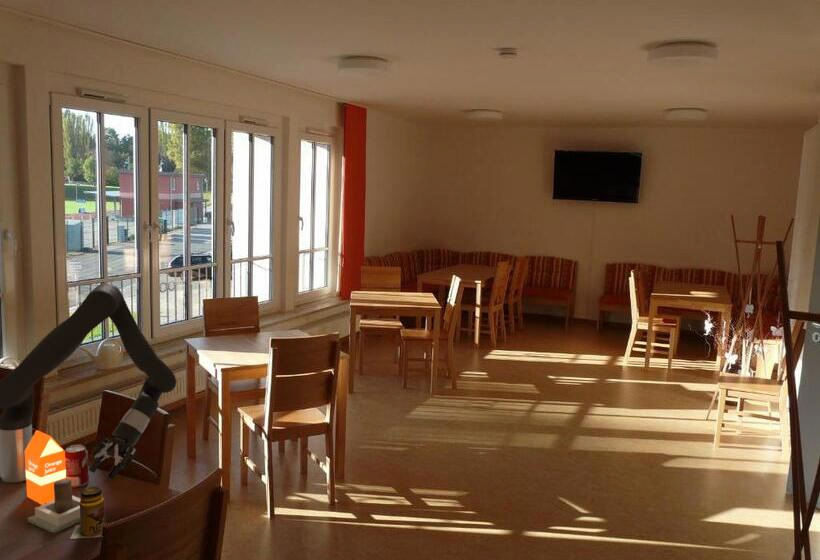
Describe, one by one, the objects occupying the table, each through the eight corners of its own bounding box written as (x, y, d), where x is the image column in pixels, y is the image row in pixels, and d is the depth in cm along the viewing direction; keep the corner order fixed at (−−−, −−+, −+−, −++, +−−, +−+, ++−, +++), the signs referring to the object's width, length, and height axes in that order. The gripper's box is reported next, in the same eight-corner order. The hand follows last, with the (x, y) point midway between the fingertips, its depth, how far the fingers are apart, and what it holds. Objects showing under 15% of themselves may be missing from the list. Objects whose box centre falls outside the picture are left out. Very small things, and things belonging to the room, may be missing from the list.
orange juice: (52, 487, 218) (49, 426, 215) (67, 496, 213) (64, 432, 210) (26, 496, 212) (22, 433, 209) (41, 505, 207) (38, 440, 204)
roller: (51, 514, 200) (50, 483, 198) (66, 508, 203) (65, 477, 202) (61, 519, 197) (60, 487, 196) (76, 512, 201) (74, 481, 200)
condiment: (103, 536, 190) (101, 495, 189) (69, 539, 189) (67, 497, 187) (108, 523, 198) (107, 483, 196) (76, 526, 196) (74, 485, 194)
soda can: (79, 490, 217) (77, 453, 215) (60, 487, 219) (58, 451, 217) (93, 481, 224) (92, 445, 222) (74, 478, 225) (73, 443, 223)
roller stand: (27, 521, 197) (27, 509, 197) (73, 502, 209) (72, 491, 209) (53, 533, 191) (52, 521, 191) (99, 513, 203) (98, 501, 203)
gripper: (109, 416, 219) (76, 463, 210) (139, 426, 211) (107, 475, 203) (124, 427, 224) (93, 474, 216) (154, 437, 217) (123, 486, 209)
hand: (99, 474), depth 210 cm, fingers open, 8 cm apart
